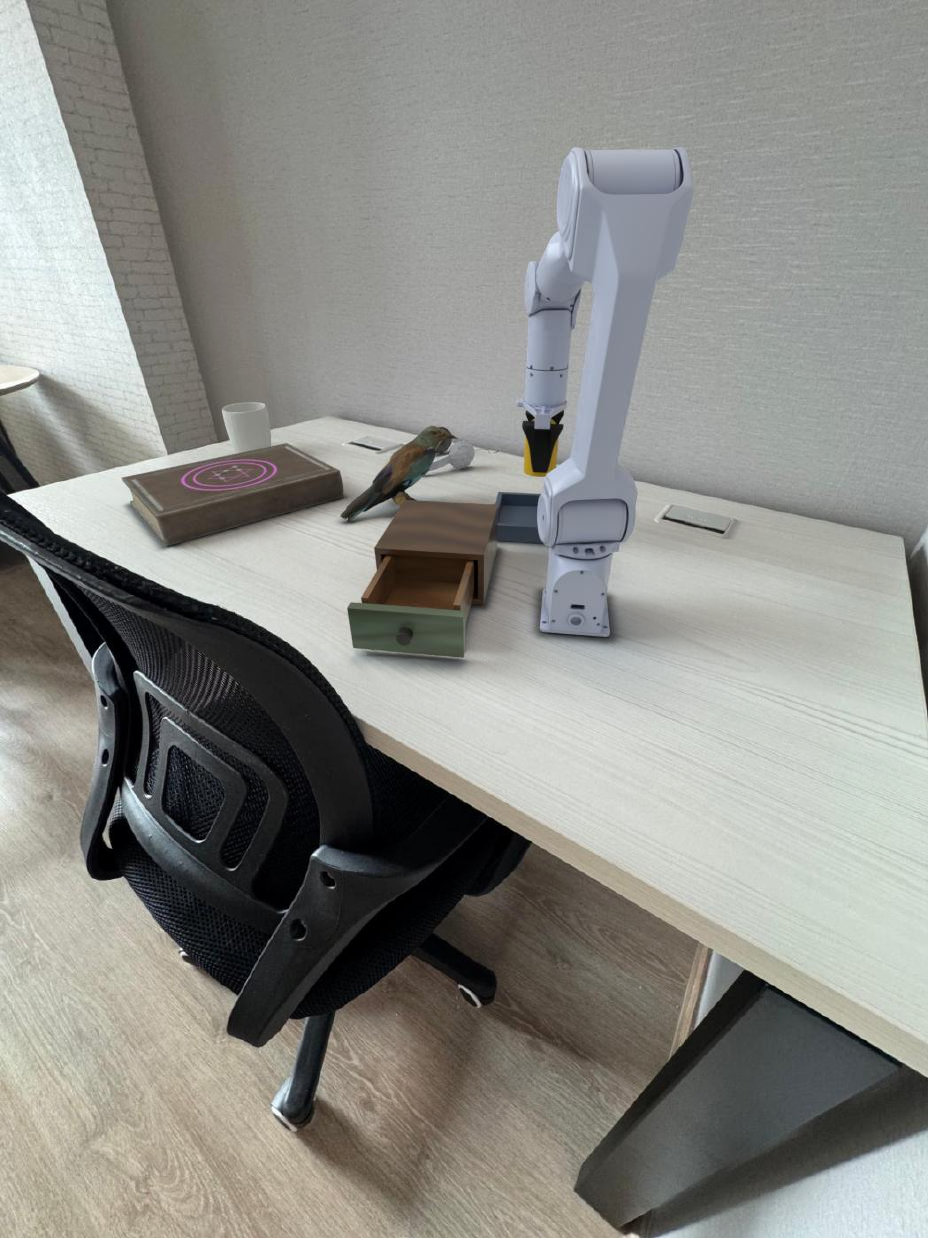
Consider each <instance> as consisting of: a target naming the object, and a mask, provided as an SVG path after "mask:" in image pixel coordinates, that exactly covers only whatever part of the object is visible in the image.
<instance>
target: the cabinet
mask: <svg viewBox="0 0 928 1238" xmlns="http://www.w3.org/2000/svg"><path fill="white" fill-rule="evenodd" d="M497 530H498V504H495V503H476V502H475V503H474V502H455V501H438V500H437V501H435V500H434V501H433V500H417V499H415V500H405V501H404V502H403V504H402V505H400V507H399V508H398V510H397V512H396V513H395V514H394V516H393V518H392V519H391V520H390V522H389V523H388V525H387V527H386V528H385V530H384V532H383V533H382V535H381V536H380V538H379V540H378V541H377V542H376V544H375V545H374V548H373V552H374V558H375V559H374V560H375V567H376V568H375V569H376V571H377V570H378V568H379V566H380V565H381V563H382V561H383V560H384V558H385V556H386V554H389V555H405V556H421V557H437V558H452V559H468V560H476V589H475V593H474V596H473V600H472V604H471V605H480V606H483V605H485V602H486V598H487V597H486V596H487V593H488V589H489V585H490V581H491V577H492V572H493V568H494V564H495V559H496V556H497V552H498V541H497Z"/></svg>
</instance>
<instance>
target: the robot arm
mask: <svg viewBox="0 0 928 1238" xmlns="http://www.w3.org/2000/svg"><path fill="white" fill-rule="evenodd" d="M692 168H693V167H692V163H691V160H690V158H689V155H688V153H687V150H686V149H685V147H681V146H676V147H671V148H670V149H583V147H578V146H577V147H576V146H575V147H573V148H572V149H571V150H570V151H569V153H568V154H567V156H566V157H565V159H564V160H563V163H562V166H561V169H560V174H559V180H558V187H557V196H556V224H557V231H556V232H555V233H554V234H553V235H552V236H551V238H550V240H549V241H548V243H547V245H546V248H545V250H544V252H543V254H542V255H541V259H540V260H539V262H537V261H535V260H531V261H529V262H528V265H527V268H526V272H525V278H524V287H523V300H524V308H525V313H526V315H528V319H527V339H526V340H527V341H526V359H525V360H526V361H525V384H524V398H517V399H516V400H515V406H516V407H517V408H523V409H525V413H524V415H525V417H526V420H522V423H521V429H522V431H523V433H524V436H525V435H526V438H527V441H528V445H529V450H530V458H531V466H532V470H533V472H539V473H547V471H548V468H549V465H550V461H551V457H552V453H553V449H554V446H555V443H556V441H557V439H558V437H560V436H561V434H562V432H563V430H564V423H561V421H562V419H563V418H564V416H565V410H566V409H567V407H568V401H567V388H568V380H569V379H568V377H569V364H570V353H571V343H572V342H571V341H572V331H573V330H575V327H576V323H577V314H578V310H579V307H580V304H581V297H582V287H583V286H584V284H585V283H586V282H587V283H589V284H590V285H591V288H592V292H593V301H592V308H591V314H590V321H589V329H588V335H587V342H586V348H585V355H584V360H583V361H584V362H583V369H582V375H581V382H580V390H579V396H578V403H577V409H576V416H575V421H574V422H575V423H574V429H573V436H572V443H571V450H570V455H569V457H568V458H566V460H565V461H563V462H561V463H560V464H558V465H556V468H554V469H553V470H552V471H550V472H549V473H548V474H547V475H546V477H545V479H544V480H543V482H542V483H543V484H542V490H541V493H540V494H541V495H540V497H539V501H538V509H537V523H538V532H539V536H540V539H541V541H542V542H543V543H542V544H544V545H545V546H546V547H549V549H548V550H549V551H548V562H547V575H546V587H545V588H543V589H542V595H541V596H542V597H541V606H540V607H541V610H540V622H539V631H540V632H542V633H552V634H564V635H577V636H589V637H603V638H607V637H609V636H610V634H611V629H610V621H609V620H610V619H609V610H608V599H607V594H608V588H609V581H610V575H611V570H612V569H611V568H612V563H613V562H612V561H613V555H614V553H618V552H620V545H621V543H622V544H623V543H626V542H627V541H628V540H629V539H630V537H631V536H632V534H633V533H634V529H635V526H636V518H637V508H636V507H637V499H638V493H639V492H638V487H637V486H636V481H635V480H634V477H633V476H632V474H631V473H630V472H629V471H627V470H626V468H624V467H623V466H622V465H620V463H618V460H619V456H620V451H621V447H622V442H623V438H624V437H623V436H624V432H625V427H626V422H627V418H628V413H629V409H630V404H631V399H632V394H633V389H634V385H635V380H636V376H637V371H638V366H639V361H640V357H641V352H642V347H643V343H644V338H645V333H646V329H647V324H648V321H649V320H648V319H649V316H650V315H649V314H650V311H651V305H652V301H653V297H654V295H655V290H656V285H657V282H658V281H659V280H661V279H663V278H664V277H666V276H667V275H669V274H670V273H672V272H673V271H674V270H675V269H676V266H677V265H676V264H677V261H678V256H679V254H680V252H681V247H682V244H683V239H684V235H685V231H686V227H687V222H688V218H689V214H690V209H691V206H692V205H691V204H692V201H693V195H694V179H693V169H692ZM533 419H535V421H532V420H533ZM550 419H552V420H553V421H554V422H555V423H556V424H551V421H550ZM558 440H559V439H558Z"/></svg>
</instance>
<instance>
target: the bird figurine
mask: <svg viewBox="0 0 928 1238" xmlns="http://www.w3.org/2000/svg"><path fill="white" fill-rule="evenodd" d="M438 427H439V426H436V425H429V426H427V427H425V428H424V429H423V431H421V432H420V433H419V434H417V436H415V437H414V438H413V439H412V440H411V441H409V442H408V443H406V444H404V445H403V446H401V447H400V448H398V449H399V450H398V449H397V450H398V451H397V450H396V451H397V452H396V453H395V454H394V456H393V457H392V458H391V460H390V459H389V461H388V463H386V464H385V466H383V467H382V469H380V471H379V472H378V473H377V474H376V476H375V477H374V479H373V480H372V482H371V483H372V484H371V485H370V486H369V487H368V488H367V489H365V491H364V492H362V493H361V494H360V495H359V496H357V497H355V498H354V499H353V500H352V501H351V502H350V503H349V504H348V505H347V506H346V508H345V509H344V510H343V511H342V512H341V513H340V515H339V517H340V518H341V519H344V520H346V522H347V523H348V522H351V521H353V520H354V519H355V518H356V517H357V516H359V515H361V514H362V513H366V512H368V511H369V510H371V509H373V508H374V507H376V506H378V505H380V504H382V503H385V502H386V501H389V500H392V501H394V503H395V504H396V505H398V506H401V505H402V504H403V502H404V501H405V500H416V499H415V498H414V497H412V496H411V495H409V493H408V492H406V490H408V489H409V488H411V487H413V486H414V485H416V484H417V483H418V482H419V481H420V480H421V479H422V478H424V476H426V474H427V473H429V472H430V471H429V469H430V467H431V465H432V463H433V461H434V459H436V458H435V457H436V454H437V453H436V452H435V451H436V449H437V447H438V446H439V444H440V443H441V442H442V441H443V440H445V439H452V440H458V441H459V439H458V437H456V436H455V435H453V434H452V433H451V434H449V433H446V432H445V431H443V430H442V429H440V428H438Z"/></svg>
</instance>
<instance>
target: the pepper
mask: <svg viewBox="0 0 928 1238" xmlns="http://www.w3.org/2000/svg"><path fill="white" fill-rule="evenodd" d="M532 421H535V419H533V420H532ZM550 421H551V424H556V423H555V422H554V421H553V420H552V419H550ZM559 437H560V436H559ZM559 437H558V439H557V441H556V443H555V446H554V449H553V453H552V457H551V461H550V465H549V468H548V471H547V473H539V472H533V470H532V466H531V458H530V450H529V445H528V441H527V438H526V435H525V434H524V452H523V454H524V455H523V456H524V457H523V473H524V474H526V475H527V476H530V477H535V478H546V475H547V474H548V473H549V472H550V471H552V470H553V469H554V468H556V467H557V465H558V464H557V462H558V451H559V439H560V438H559Z"/></svg>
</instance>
